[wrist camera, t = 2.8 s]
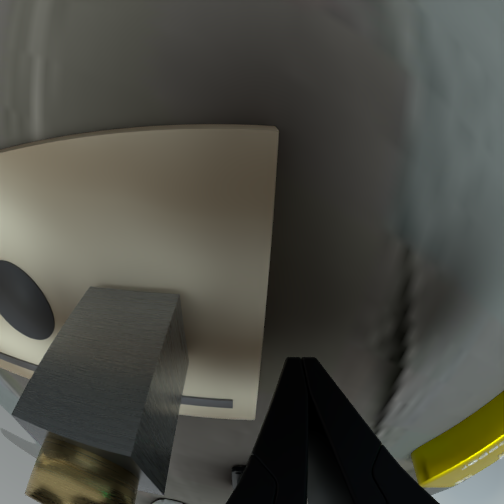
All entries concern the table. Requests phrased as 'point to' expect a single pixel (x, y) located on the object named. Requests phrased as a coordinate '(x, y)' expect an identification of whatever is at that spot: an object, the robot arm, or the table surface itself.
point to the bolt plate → (145, 243)
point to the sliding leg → (107, 399)
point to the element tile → (462, 448)
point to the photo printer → (166, 502)
